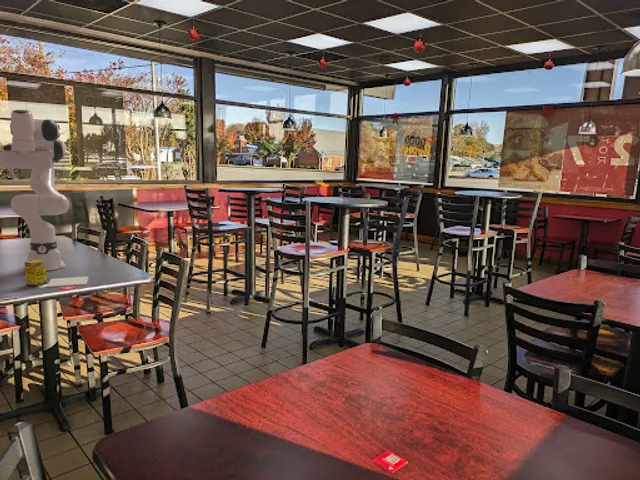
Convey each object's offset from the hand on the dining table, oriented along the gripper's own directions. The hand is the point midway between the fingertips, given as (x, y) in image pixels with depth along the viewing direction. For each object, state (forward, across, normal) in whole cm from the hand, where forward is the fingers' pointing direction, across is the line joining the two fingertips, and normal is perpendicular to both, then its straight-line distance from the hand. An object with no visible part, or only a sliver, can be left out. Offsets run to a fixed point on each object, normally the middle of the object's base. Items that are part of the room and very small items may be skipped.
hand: (27, 179), depth 210 cm
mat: (+48, -14, +3) cm, 50 cm away
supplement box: (+48, -1, +3) cm, 48 cm away
